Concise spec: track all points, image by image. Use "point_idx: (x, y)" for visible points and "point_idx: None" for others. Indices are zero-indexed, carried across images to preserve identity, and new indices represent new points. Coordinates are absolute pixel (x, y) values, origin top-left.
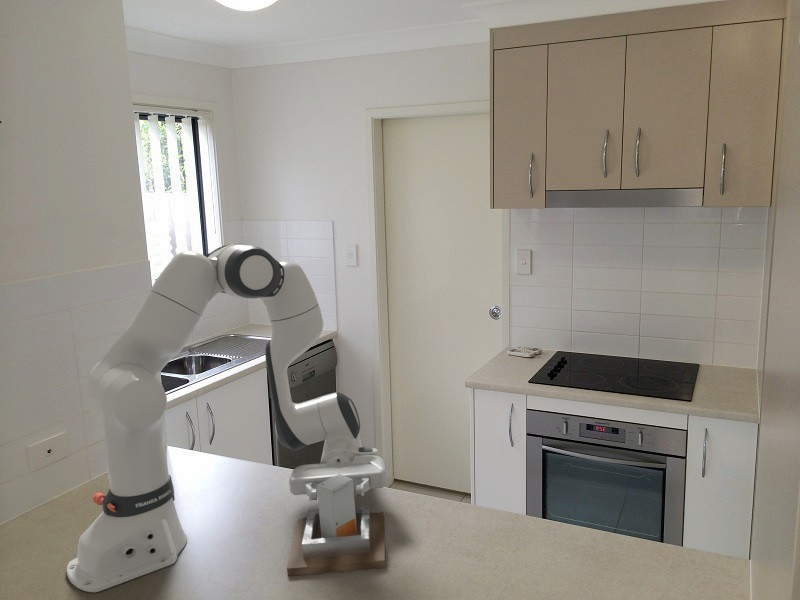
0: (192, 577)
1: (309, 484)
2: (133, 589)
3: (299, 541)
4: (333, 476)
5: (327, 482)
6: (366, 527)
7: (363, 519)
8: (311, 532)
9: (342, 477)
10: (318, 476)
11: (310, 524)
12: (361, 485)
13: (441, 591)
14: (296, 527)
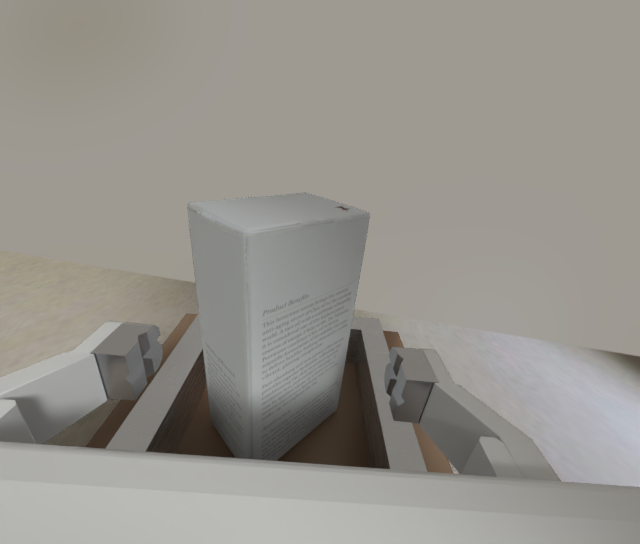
0: (611, 382)
1: (496, 437)
2: None
3: (413, 425)
4: (282, 467)
5: (321, 209)
6: (187, 341)
7: (174, 383)
8: (367, 355)
9: (237, 212)
10: (468, 500)
11: (386, 398)
12: (95, 343)
13: (132, 274)
14: None
